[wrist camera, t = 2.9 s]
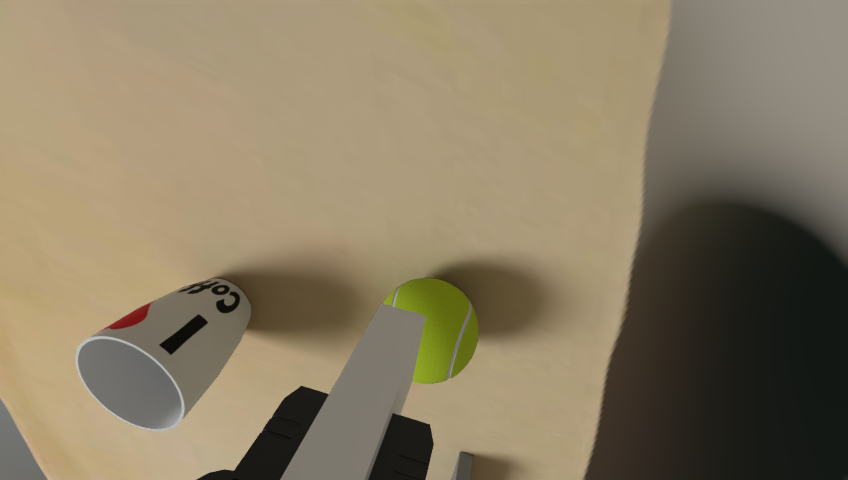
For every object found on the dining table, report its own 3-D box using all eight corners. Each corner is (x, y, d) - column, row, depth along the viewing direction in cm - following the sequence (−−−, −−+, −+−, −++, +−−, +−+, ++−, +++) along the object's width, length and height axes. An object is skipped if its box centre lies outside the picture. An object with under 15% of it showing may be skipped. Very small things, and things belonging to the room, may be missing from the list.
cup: (269, 279, 34) (180, 360, 26) (265, 352, 38) (186, 446, 29) (181, 251, 35) (65, 320, 26) (185, 325, 39) (85, 408, 30)
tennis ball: (493, 274, 30) (484, 335, 24) (471, 349, 33) (458, 420, 27) (399, 250, 31) (367, 302, 24) (386, 325, 34) (355, 388, 28)
